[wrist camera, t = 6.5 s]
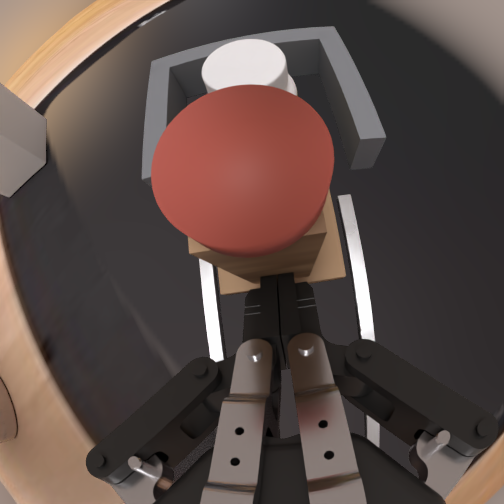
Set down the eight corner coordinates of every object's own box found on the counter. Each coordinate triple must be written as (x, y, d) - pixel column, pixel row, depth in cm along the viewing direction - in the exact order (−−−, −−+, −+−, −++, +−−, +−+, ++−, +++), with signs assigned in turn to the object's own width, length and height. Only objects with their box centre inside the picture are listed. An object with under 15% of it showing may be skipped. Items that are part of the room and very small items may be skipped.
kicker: (227, 295, 18) (85, 271, 5) (215, 185, 19) (115, 46, 7) (341, 278, 17) (438, 217, 4) (320, 168, 18) (334, -2, 6)
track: (235, 481, 16) (232, 487, 15) (200, 222, 19) (195, 219, 18) (375, 466, 14) (378, 471, 14) (348, 198, 18) (350, 194, 17)
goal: (168, 201, 20) (141, 179, 16) (169, 90, 22) (151, 61, 18) (371, 167, 18) (386, 137, 14) (331, 60, 20) (333, 26, 16)
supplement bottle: (276, 111, 20) (262, 24, 12) (313, 156, 19) (317, 69, 11) (220, 141, 20) (179, 62, 12) (252, 191, 19) (219, 116, 11)
